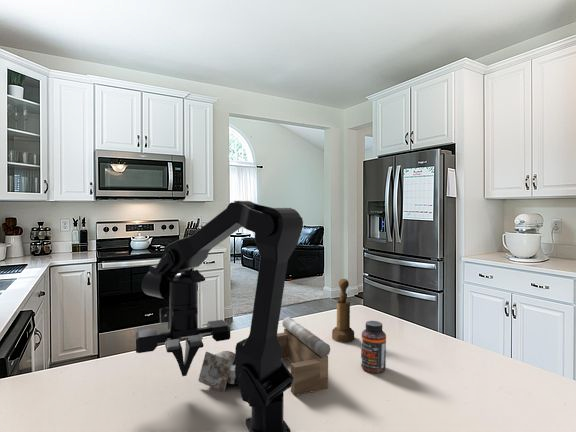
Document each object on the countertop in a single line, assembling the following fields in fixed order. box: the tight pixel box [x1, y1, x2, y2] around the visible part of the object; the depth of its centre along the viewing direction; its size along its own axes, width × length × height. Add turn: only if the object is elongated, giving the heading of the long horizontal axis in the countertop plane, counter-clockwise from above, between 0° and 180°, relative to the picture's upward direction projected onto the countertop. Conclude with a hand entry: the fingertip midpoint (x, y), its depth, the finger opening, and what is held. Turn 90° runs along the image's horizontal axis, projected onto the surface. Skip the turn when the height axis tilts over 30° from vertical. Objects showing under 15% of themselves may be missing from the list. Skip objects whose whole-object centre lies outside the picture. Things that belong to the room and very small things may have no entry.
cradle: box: [277, 316, 331, 397], centre depth 85 cm, size 20×8×10 cm, turn 23°
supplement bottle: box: [360, 320, 387, 374], centre depth 87 cm, size 6×6×11 cm
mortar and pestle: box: [331, 278, 355, 343], centre depth 107 cm, size 7×6×18 cm
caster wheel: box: [197, 350, 239, 393], centre depth 81 cm, size 7×11×10 cm
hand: (184, 375), depth 75 cm, fingers closed
